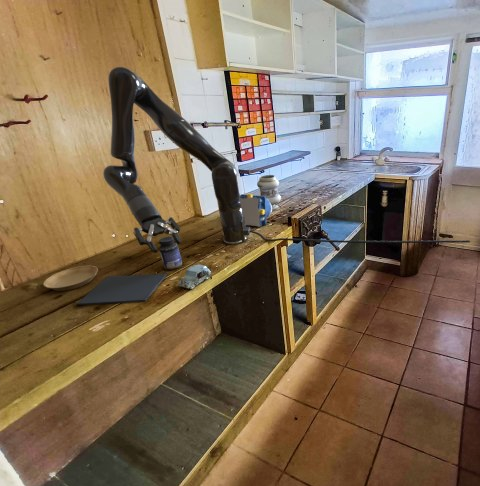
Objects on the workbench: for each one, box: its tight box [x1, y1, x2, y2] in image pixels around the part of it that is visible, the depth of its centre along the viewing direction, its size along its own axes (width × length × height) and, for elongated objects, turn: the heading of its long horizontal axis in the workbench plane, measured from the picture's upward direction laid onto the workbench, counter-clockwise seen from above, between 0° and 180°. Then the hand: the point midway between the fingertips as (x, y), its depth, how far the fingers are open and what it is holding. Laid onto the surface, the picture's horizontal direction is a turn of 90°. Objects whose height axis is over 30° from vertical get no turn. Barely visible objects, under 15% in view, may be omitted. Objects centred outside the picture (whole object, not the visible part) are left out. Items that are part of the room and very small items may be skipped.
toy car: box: [177, 263, 212, 290], centre depth 102 cm, size 6×10×5 cm, turn 155°
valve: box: [240, 193, 273, 228], centre depth 153 cm, size 13×15×15 cm
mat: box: [76, 273, 168, 306], centre depth 101 cm, size 20×16×1 cm
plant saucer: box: [42, 265, 99, 292], centre depth 105 cm, size 15×15×3 cm
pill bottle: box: [158, 236, 183, 271], centre depth 112 cm, size 6×6×11 cm
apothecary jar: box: [256, 174, 282, 212], centre depth 171 cm, size 12×12×18 cm
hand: (168, 247), depth 111 cm, fingers open, 8 cm apart
